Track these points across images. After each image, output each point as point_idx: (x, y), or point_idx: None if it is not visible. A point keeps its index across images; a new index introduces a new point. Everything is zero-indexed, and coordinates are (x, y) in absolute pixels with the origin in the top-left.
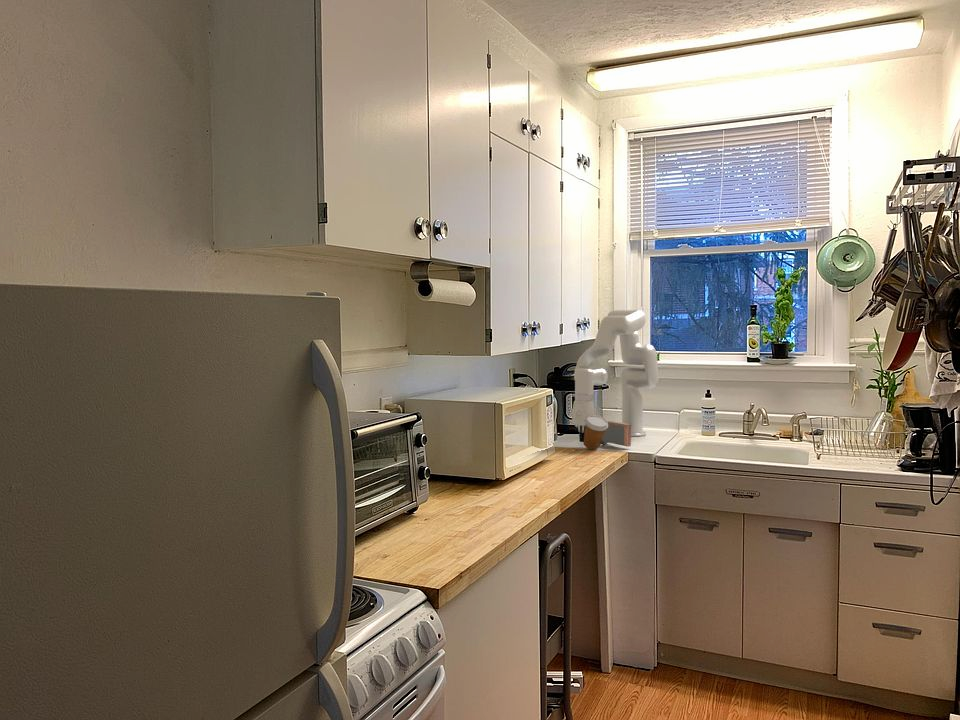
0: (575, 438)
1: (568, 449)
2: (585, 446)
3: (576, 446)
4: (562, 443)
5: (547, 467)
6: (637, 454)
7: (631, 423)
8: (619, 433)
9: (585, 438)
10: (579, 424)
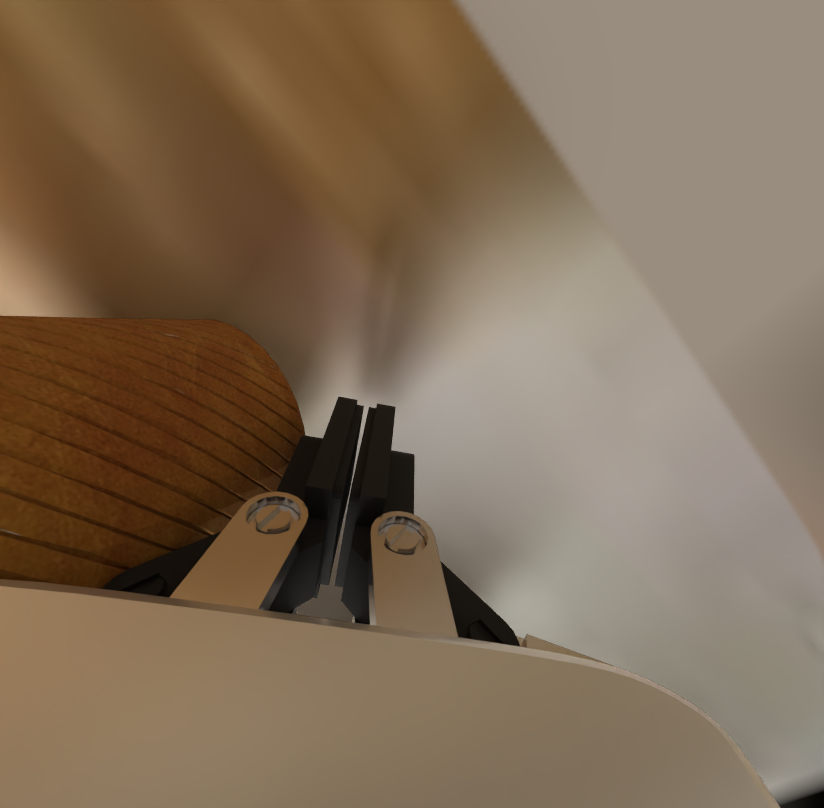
0: (738, 675)
1: (358, 80)
2: (214, 321)
3: (459, 385)
4: (725, 420)
5: None
6: None
7: None
8: None
9: (90, 327)
10: (224, 616)
